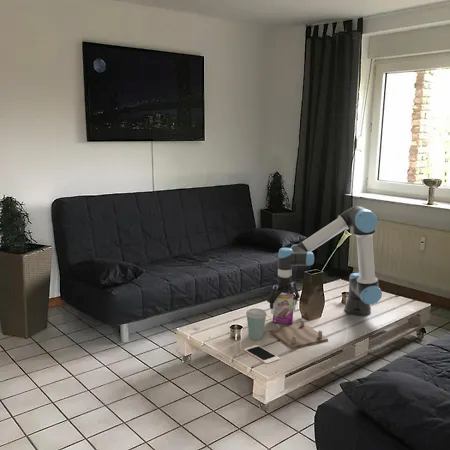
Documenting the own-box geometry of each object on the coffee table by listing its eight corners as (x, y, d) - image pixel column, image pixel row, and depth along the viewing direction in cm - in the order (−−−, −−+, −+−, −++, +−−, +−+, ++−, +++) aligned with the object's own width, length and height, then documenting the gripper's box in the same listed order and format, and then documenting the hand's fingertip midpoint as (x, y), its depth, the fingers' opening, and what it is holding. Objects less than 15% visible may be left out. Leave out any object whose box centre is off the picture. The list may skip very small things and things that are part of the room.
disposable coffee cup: (253, 331, 269) (254, 305, 266) (270, 337, 262) (271, 310, 259) (241, 337, 261) (242, 310, 258) (258, 343, 254) (259, 316, 251)
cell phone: (266, 364, 233) (266, 363, 233) (242, 350, 247) (242, 348, 247) (280, 359, 238) (280, 358, 238) (256, 346, 252) (256, 344, 252)
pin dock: (303, 325, 278) (304, 317, 277) (328, 341, 258) (328, 332, 257) (269, 332, 268) (269, 323, 267) (292, 348, 249) (292, 340, 248)
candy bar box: (272, 323, 280) (273, 295, 277) (272, 319, 285) (273, 292, 282) (292, 324, 279) (294, 296, 276) (292, 320, 284) (293, 293, 281)
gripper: (299, 271, 285) (298, 306, 290) (261, 276, 275) (260, 313, 279) (307, 274, 279) (305, 310, 283) (268, 280, 268) (267, 317, 272)
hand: (283, 312), depth 281 cm, fingers open, 13 cm apart
